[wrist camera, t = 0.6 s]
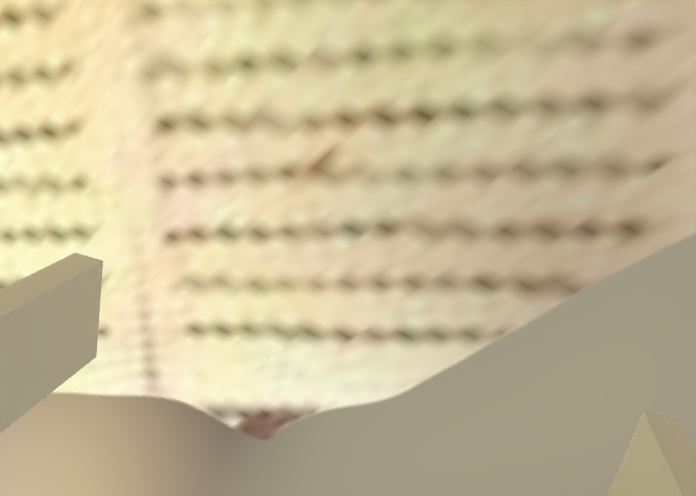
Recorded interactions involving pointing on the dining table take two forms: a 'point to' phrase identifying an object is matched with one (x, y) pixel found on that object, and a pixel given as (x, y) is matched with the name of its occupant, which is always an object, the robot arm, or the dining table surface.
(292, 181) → the dining table surface
